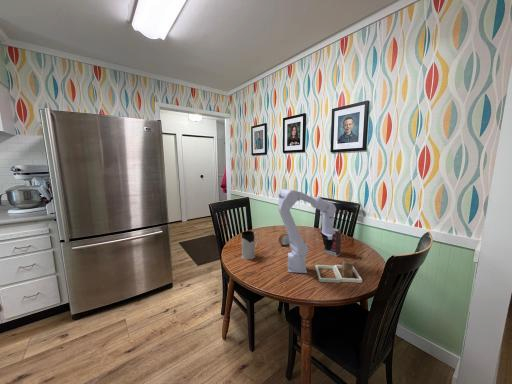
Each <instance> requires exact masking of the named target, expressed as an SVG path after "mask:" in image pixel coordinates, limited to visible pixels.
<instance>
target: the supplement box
mask: <svg viewBox="0 0 512 384" xmlns="http://www.w3.org/2000/svg"><path fill="white" fill-rule="evenodd" d="M333 231H335V234H333V235H332V238H334V239H335V241H334V242H333V244H332V247H331V251H327V250H326V245H324V253H326V254H328V255H331V256H334V257H339V256H340V255H341V249H342V247H341V245H342V229H339V228H335V227H333Z"/></svg>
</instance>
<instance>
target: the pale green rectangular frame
mask: <svg viewBox="0 0 512 384" xmlns="http://www.w3.org/2000/svg"><path fill="white" fill-rule="evenodd" d="M314 266H315V271H316V274H317V277H318V281H319V282H322V283H338V284H340V283H341V281H340V278H339V275H338V273H337V271H336V269H335V267H334V265H327V264H326V265H325V264H315V265H314ZM319 269H323V270H325V269H326V270H332V272H333V273H334V275H335V278H332V277H330V278H329V277H321V273H320V270H319Z"/></svg>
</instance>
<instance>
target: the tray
mask: <svg viewBox="0 0 512 384" xmlns="http://www.w3.org/2000/svg"><path fill="white" fill-rule="evenodd" d="M333 266H334V267H335V269H336V271H337V273H338V275H339V278H340V283H341V282H342V283H358V284H361V283H363V279H362V277H361V276H360V274H359V272H358V271H357V269H356V268H355V267H354V265H353V272H352V273H354V275H355V277H356V278H354V277H342V273H341V272H340V271H339V269H341V270H342V264H334V265H333Z"/></svg>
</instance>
